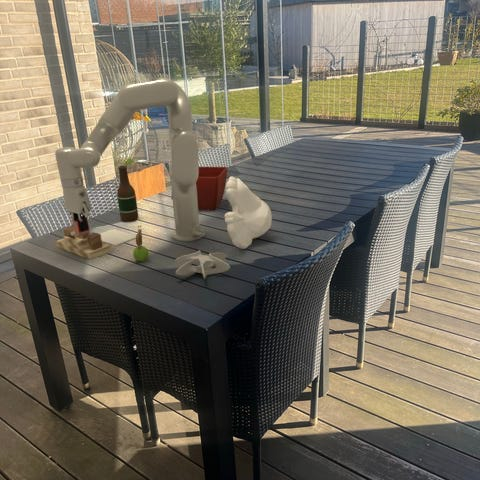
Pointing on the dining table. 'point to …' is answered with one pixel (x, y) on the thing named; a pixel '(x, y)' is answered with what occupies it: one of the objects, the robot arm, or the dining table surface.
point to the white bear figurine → (245, 214)
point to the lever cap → (78, 233)
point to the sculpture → (201, 264)
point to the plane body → (84, 245)
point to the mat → (116, 237)
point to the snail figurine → (140, 248)
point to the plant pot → (210, 187)
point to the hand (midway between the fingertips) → (81, 229)
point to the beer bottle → (126, 197)
